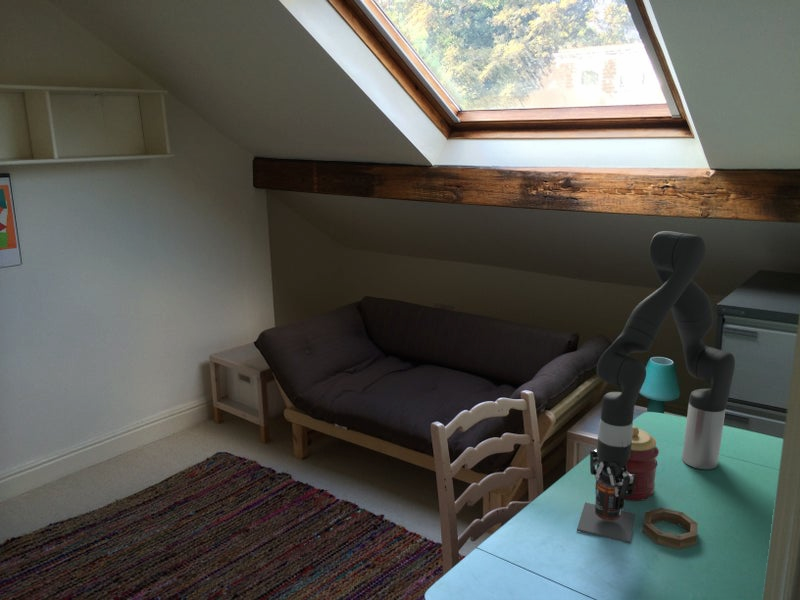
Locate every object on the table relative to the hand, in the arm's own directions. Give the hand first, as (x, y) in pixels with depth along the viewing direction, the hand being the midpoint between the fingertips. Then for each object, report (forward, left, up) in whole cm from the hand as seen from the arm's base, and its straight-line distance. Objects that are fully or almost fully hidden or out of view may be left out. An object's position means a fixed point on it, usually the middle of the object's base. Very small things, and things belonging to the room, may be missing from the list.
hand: (608, 501), depth 164 cm
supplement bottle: (0, 0, -4) cm, 4 cm away
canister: (-18, +3, -6) cm, 19 cm away
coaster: (0, 0, -6) cm, 6 cm away
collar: (-2, +14, -6) cm, 15 cm away
